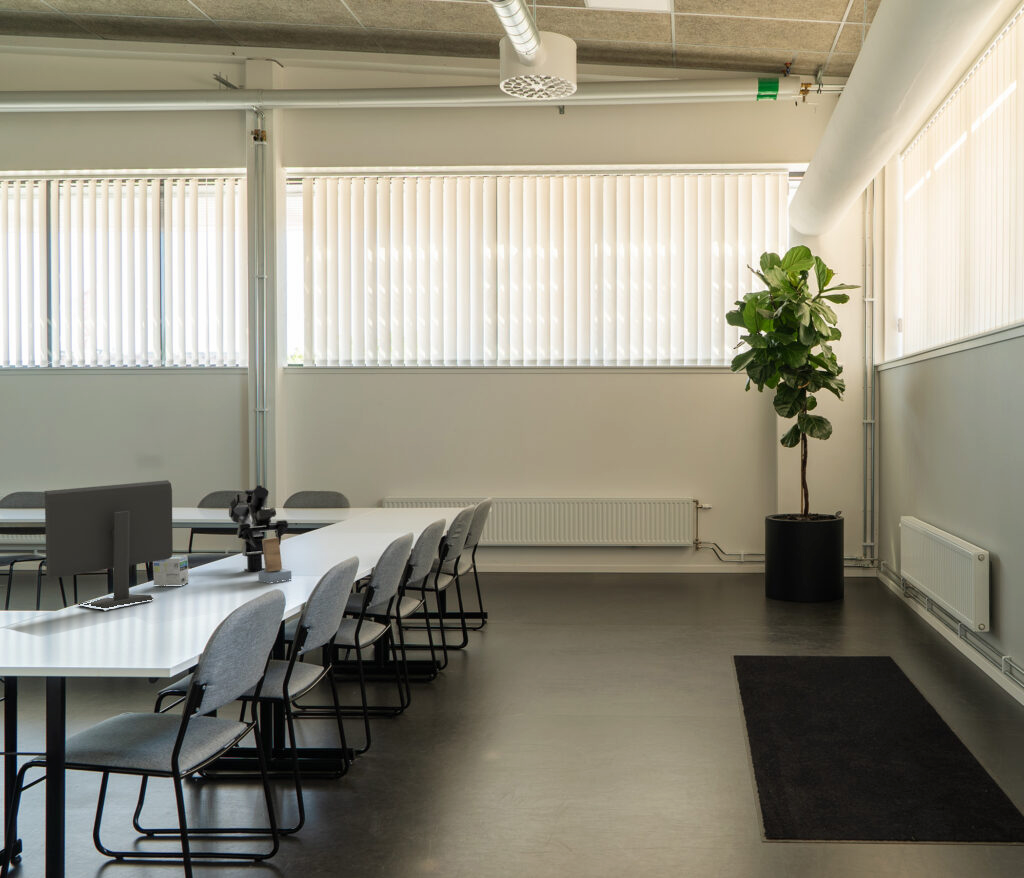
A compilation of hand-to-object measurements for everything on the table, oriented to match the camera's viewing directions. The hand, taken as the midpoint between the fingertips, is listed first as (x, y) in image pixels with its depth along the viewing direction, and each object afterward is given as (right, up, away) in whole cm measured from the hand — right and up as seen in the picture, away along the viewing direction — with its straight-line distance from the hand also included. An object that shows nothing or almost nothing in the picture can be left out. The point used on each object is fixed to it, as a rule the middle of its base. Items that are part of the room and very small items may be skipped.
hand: (267, 545), depth 345 cm
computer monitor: (-39, -15, -43) cm, 60 cm away
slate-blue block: (+4, -13, -6) cm, 15 cm away
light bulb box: (-33, -14, -11) cm, 37 cm away
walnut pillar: (+4, -8, -7) cm, 11 cm away
